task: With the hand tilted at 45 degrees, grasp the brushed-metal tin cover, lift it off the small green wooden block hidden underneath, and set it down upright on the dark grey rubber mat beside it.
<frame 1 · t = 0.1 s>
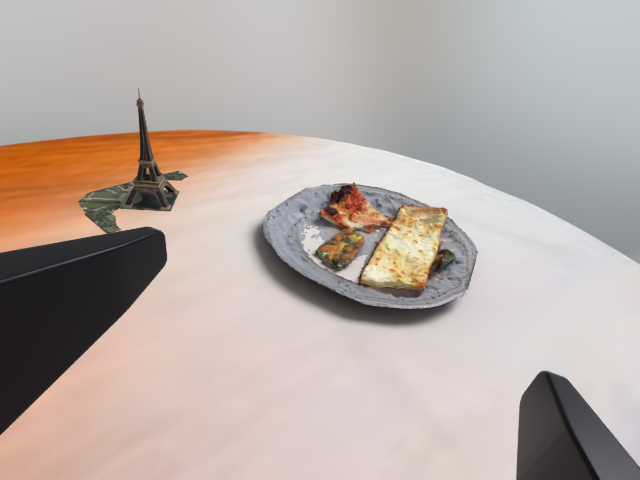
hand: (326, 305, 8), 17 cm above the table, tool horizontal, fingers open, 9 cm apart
eiffel tower figurine: (151, 202, 44), on the table
food plate: (369, 245, 43), on the table
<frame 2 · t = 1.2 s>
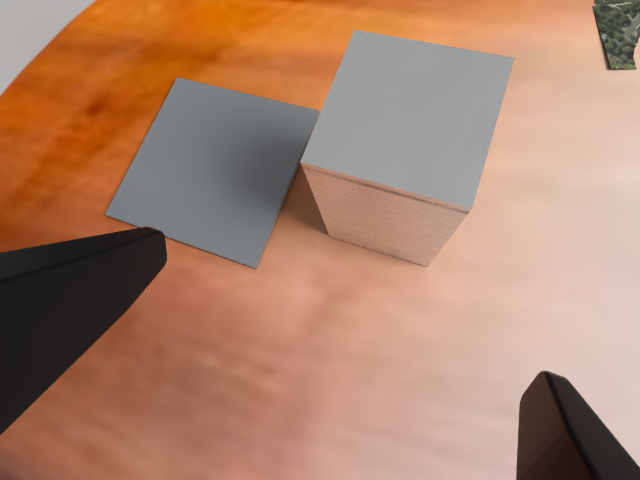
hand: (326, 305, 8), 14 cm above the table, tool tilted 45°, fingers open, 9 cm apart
rubber mat: (214, 166, 26), on the table
tin cover: (392, 205, 23), on the table
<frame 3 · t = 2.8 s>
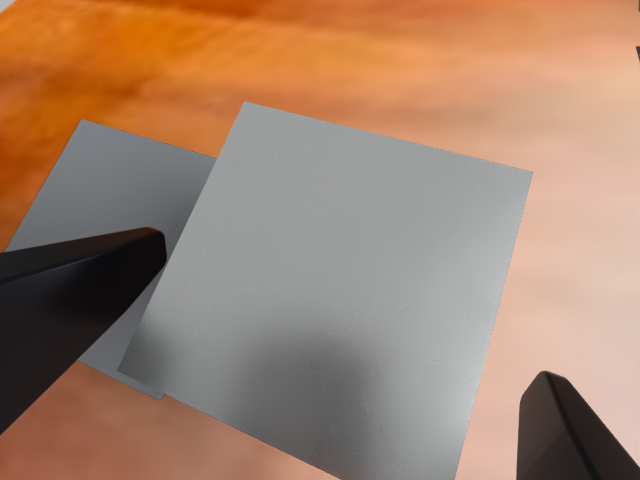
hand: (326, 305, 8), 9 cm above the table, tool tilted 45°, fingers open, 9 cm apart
rubber mat: (120, 242, 19), on the table
tin cover: (351, 311, 16), on the table
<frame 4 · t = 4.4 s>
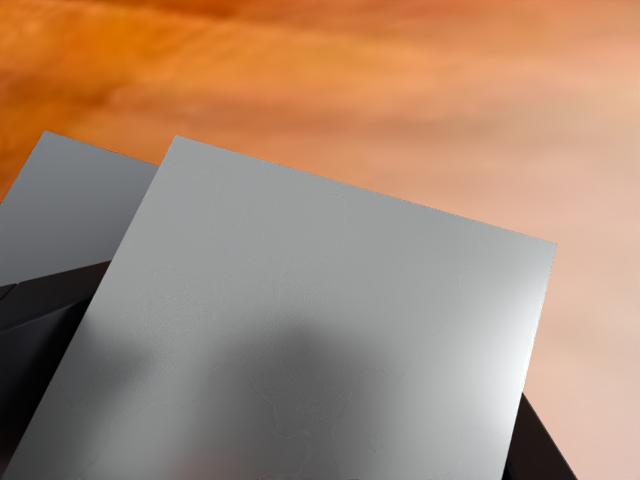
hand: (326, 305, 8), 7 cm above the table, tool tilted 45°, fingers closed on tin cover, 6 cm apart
rubber mat: (83, 268, 17), on the table
tin cover: (336, 353, 15), on the table, touching gripper
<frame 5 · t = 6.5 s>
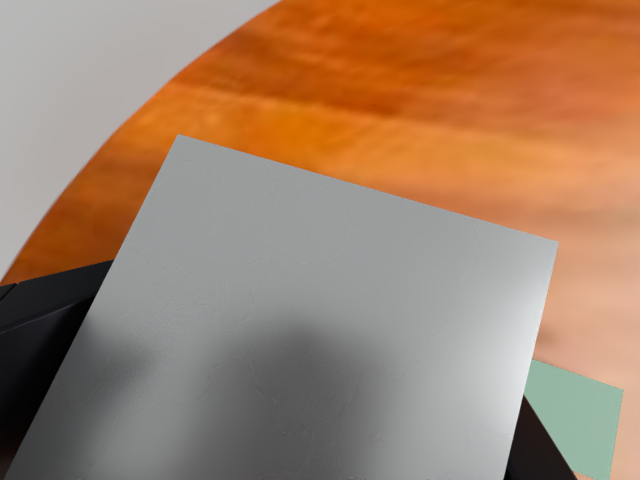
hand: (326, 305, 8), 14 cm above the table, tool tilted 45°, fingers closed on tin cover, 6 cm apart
tin cover: (337, 352, 15), point 6 cm above the table, touching gripper
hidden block: (550, 411, 17), on the table
when the fingers open (8 cm above the table, at t = 8.8 s): tin cover stays where it is, resting on rubber mat.
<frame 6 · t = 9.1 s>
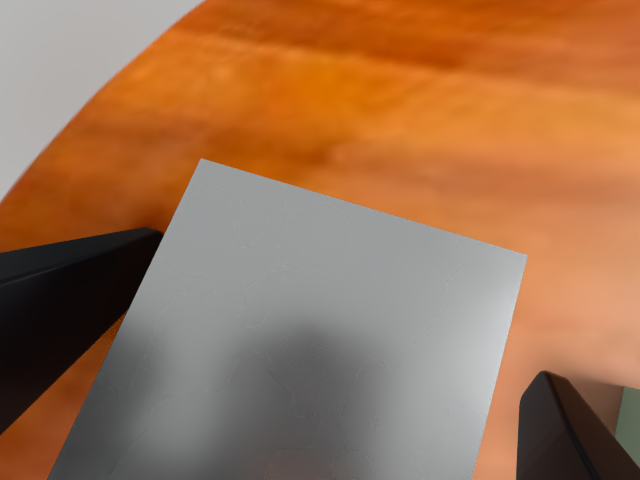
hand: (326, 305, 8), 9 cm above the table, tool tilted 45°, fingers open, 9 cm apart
tin cover: (339, 350, 15), resting on rubber mat
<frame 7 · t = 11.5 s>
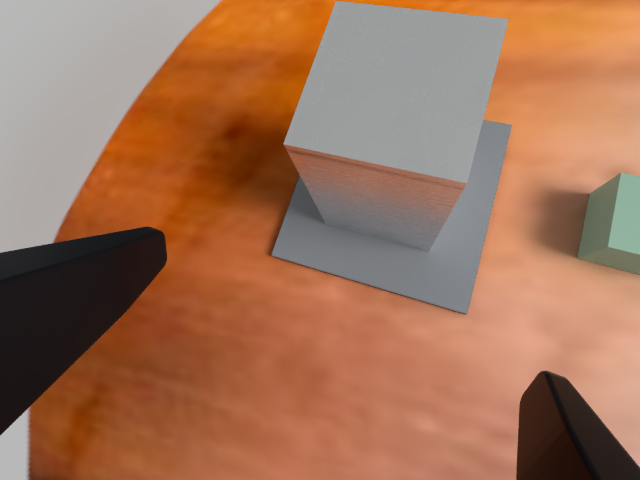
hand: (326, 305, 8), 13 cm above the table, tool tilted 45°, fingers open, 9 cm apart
rubber mat: (389, 193, 23), on the table
tin cover: (389, 190, 22), resting on rubber mat
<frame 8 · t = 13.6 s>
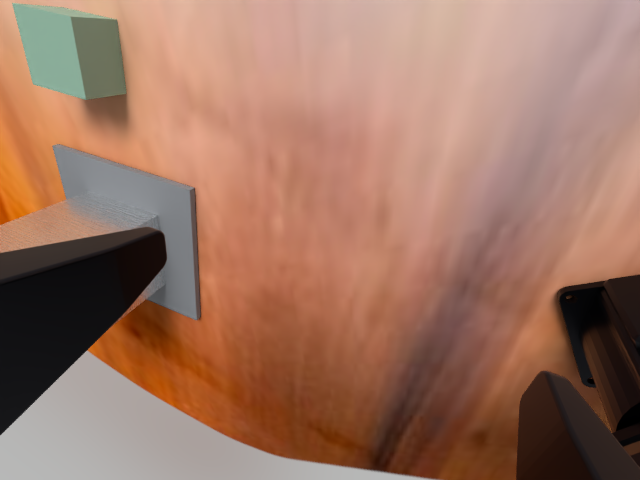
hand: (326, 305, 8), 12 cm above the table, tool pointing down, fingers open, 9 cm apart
rubber mat: (134, 236, 28), on the table
tin cover: (128, 238, 28), resting on rubber mat
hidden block: (75, 52, 20), on the table
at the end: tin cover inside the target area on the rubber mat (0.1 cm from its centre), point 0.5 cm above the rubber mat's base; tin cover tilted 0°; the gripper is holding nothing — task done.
